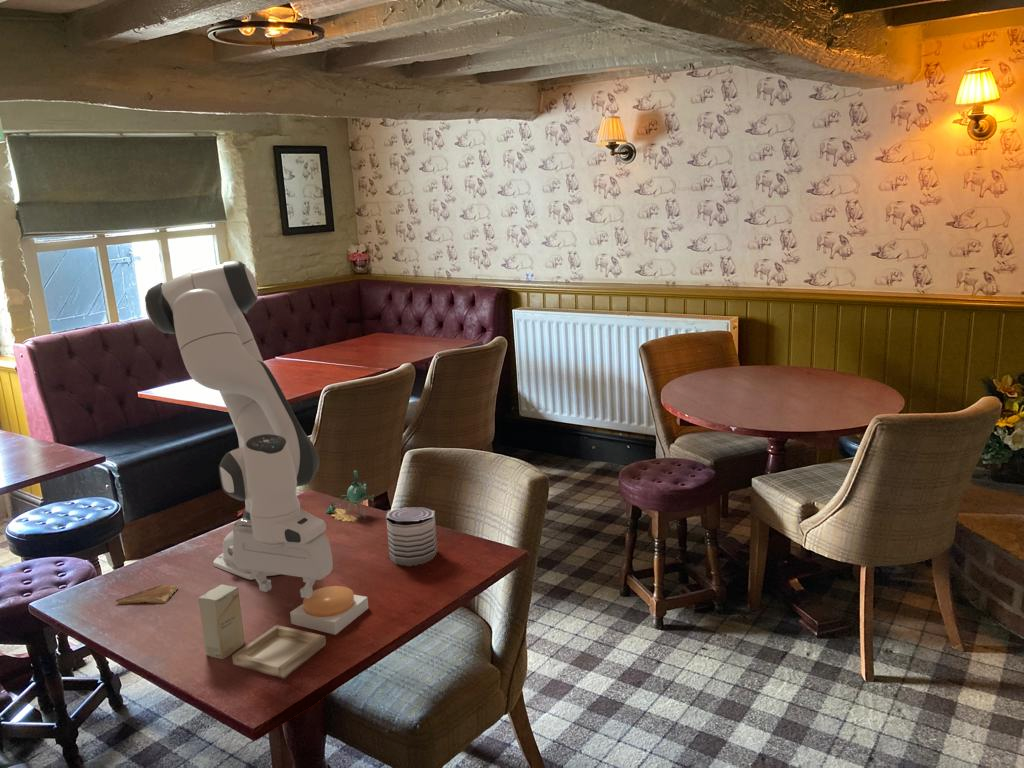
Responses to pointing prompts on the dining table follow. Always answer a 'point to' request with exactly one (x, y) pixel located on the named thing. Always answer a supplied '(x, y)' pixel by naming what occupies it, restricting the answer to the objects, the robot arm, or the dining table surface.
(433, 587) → the dining table surface
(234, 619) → the skincare box
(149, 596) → the shard
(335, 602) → the button
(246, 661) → the beige soap dish
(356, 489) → the frog figurine
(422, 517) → the can
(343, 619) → the white square base
